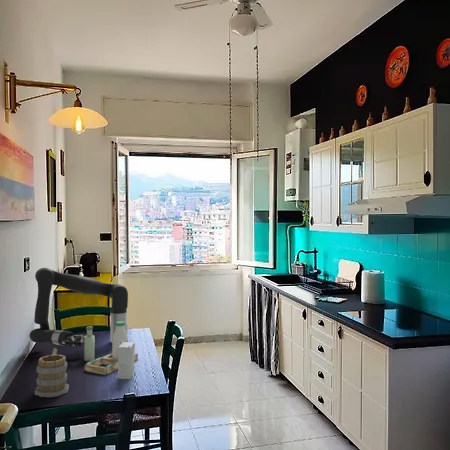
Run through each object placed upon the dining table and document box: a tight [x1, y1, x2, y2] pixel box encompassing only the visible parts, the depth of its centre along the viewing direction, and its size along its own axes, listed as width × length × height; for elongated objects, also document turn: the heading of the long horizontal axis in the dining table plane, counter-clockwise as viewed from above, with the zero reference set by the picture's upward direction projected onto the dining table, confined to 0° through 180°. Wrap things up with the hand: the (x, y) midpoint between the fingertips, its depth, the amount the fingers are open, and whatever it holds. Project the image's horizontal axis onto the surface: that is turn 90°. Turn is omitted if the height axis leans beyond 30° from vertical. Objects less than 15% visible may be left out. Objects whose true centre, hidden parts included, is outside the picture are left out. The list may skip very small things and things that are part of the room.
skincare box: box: [117, 341, 136, 380], centre depth 205 cm, size 8×6×15 cm
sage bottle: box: [83, 325, 96, 362], centre depth 230 cm, size 5×5×17 cm
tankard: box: [34, 347, 70, 398], centre depth 190 cm, size 20×13×15 cm, turn 12°
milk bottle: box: [111, 321, 129, 359], centre depth 227 cm, size 8×8×20 cm
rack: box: [84, 353, 139, 376], centre depth 221 cm, size 25×12×3 cm, turn 156°
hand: (86, 341), depth 230 cm, fingers open, 8 cm apart
